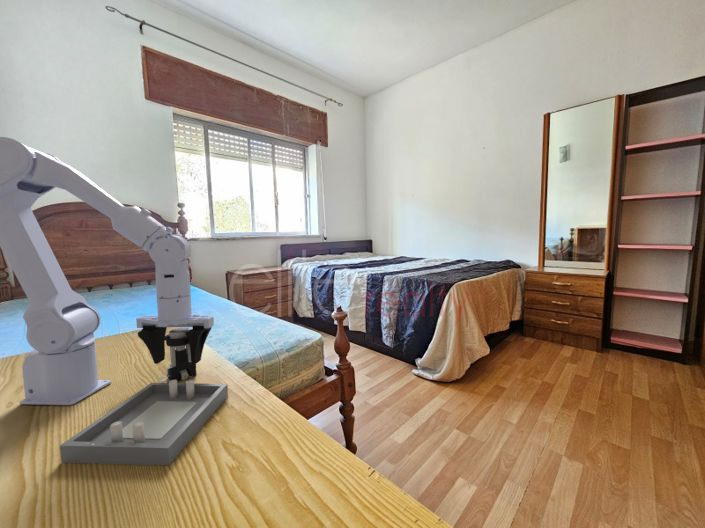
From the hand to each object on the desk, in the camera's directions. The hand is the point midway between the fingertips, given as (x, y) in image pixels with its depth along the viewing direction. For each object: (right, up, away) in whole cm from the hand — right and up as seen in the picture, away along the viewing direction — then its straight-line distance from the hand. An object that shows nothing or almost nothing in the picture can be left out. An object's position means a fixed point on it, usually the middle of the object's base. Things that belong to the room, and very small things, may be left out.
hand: (177, 361), depth 58 cm
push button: (0, -4, 0) cm, 4 cm away
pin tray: (+5, -5, -14) cm, 16 cm away
